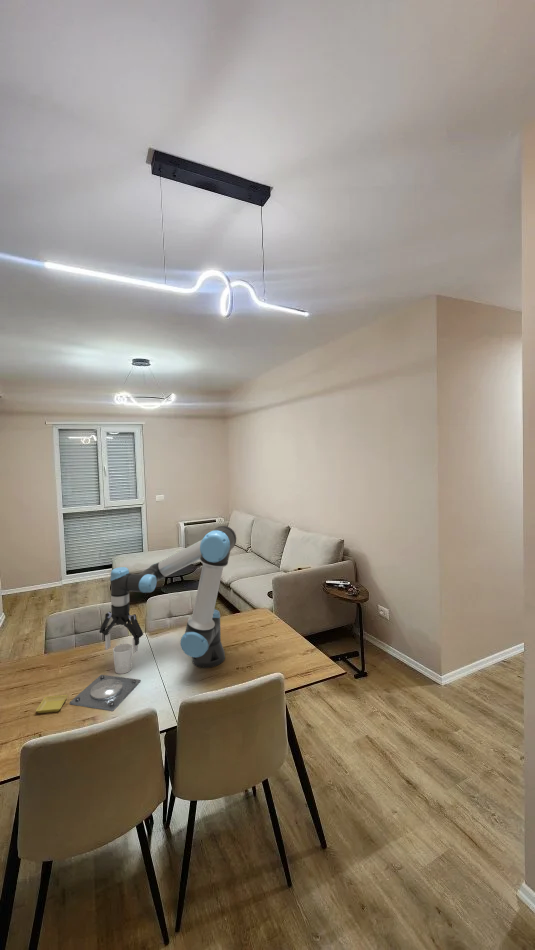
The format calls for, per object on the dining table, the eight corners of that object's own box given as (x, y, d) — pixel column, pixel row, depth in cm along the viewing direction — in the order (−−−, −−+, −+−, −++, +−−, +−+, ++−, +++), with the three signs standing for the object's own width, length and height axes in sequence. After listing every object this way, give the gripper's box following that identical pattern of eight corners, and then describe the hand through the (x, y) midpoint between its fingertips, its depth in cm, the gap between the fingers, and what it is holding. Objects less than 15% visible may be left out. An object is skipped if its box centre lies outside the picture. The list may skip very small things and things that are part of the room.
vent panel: (140, 681, 165) (140, 676, 165) (113, 711, 147) (112, 705, 147) (101, 676, 169) (100, 671, 169) (69, 704, 151) (69, 699, 151)
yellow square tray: (68, 699, 155) (68, 694, 155) (60, 713, 146) (60, 708, 146) (45, 701, 153) (44, 696, 153) (35, 716, 145) (35, 711, 145)
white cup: (126, 675, 170) (125, 653, 169) (110, 673, 171) (109, 651, 171) (136, 665, 177) (135, 644, 177) (120, 664, 179) (119, 642, 178)
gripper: (150, 602, 173) (151, 649, 175) (101, 597, 179) (102, 642, 180) (141, 609, 166) (142, 657, 167) (90, 603, 171) (91, 650, 173)
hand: (121, 650), depth 174 cm, fingers open, 13 cm apart
